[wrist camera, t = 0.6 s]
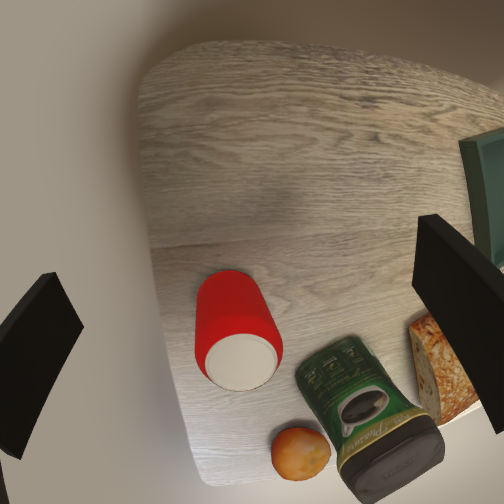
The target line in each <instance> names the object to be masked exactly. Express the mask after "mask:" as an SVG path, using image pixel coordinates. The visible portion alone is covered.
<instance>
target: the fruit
mask: <svg viewBox="0 0 504 504" xmlns="http://www.w3.org/2000/svg"><path fill="white" fill-rule="evenodd" d="M330 456H331V449H330V445H329V443H328V441H327V439H326V438H325V437H324V436H323V435H322V434H320V433H318V432H316V431H314V430H312V429H308V428H303V427H295V428H288V429H285V430H283V431H282V432H280V433H279V434H278V435H277V436H276V437H275V438H274V439H273V442H272V448H271V459H272V464H273V466H274V468H275V470H276V471H277V473H278V474H279V475H280V476H281V477H282V478H284V479H286V480H292V481H302V480H307V479H309V478H312V477H314V476H316V475H317V474H318V473H319V472H320V471H322V470H323V469H324V467H325V465H326V464H327V463H328V461H329V458H330Z"/></svg>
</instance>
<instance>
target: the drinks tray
mask: <svg viewBox="0 0 504 504" xmlns="http://www.w3.org/2000/svg"><path fill="white" fill-rule="evenodd" d="M459 145H460V150H461V154H462V159H463V164H464V169H465V174H466V179H467V185H468V191H469V197H470V204H471V212H472V220H473V229H474V240H475V247H476V248H477V249H478V250H479V251H480V252H481V253H482V254H483V255H484V256H485V257H486V258H488V259H489V260H490V261H491V262H492V263H493V264H494V265H495V266H496V267H497V268H498V269H500V268H501V267H502V266H504V128H500V129H497V130H493V131H490V132H487V133H483V134H480V135H477V136H473V137H470V138H467V139H464V140H461V141H459Z"/></svg>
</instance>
